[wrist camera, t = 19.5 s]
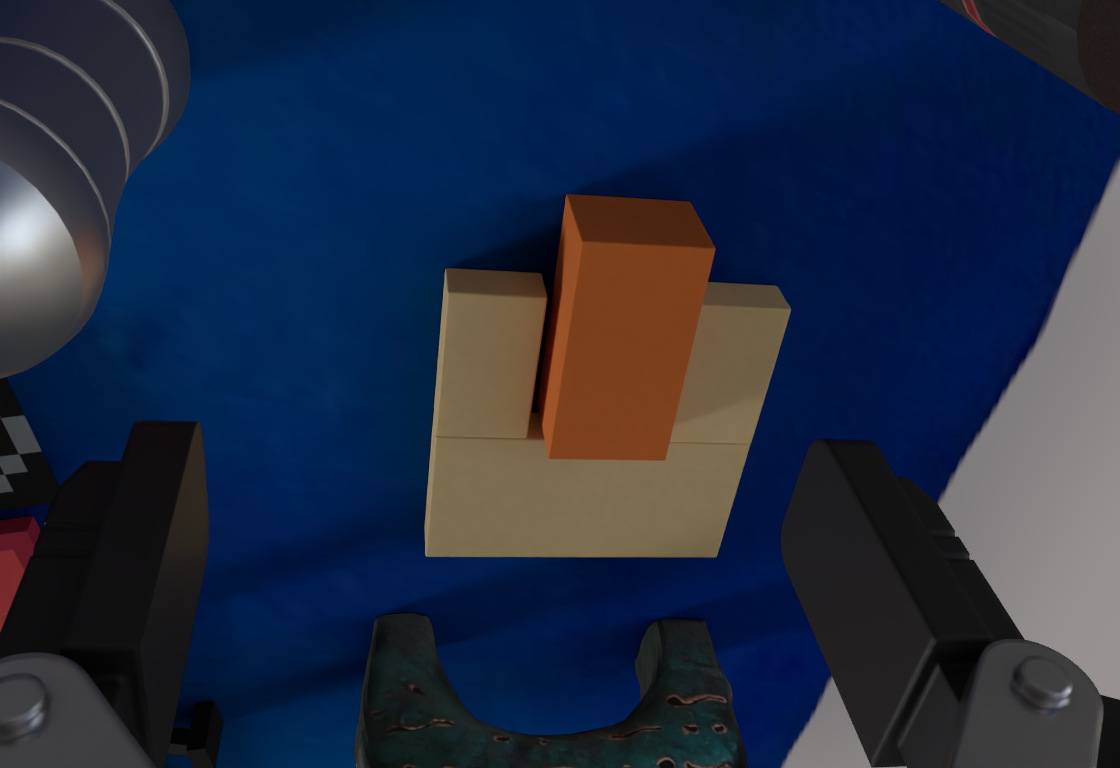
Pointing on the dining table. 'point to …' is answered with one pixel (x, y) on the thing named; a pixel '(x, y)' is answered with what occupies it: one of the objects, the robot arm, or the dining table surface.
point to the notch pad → (586, 485)
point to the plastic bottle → (74, 152)
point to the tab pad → (621, 326)
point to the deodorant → (1059, 38)
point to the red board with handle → (6, 545)
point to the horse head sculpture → (546, 760)
